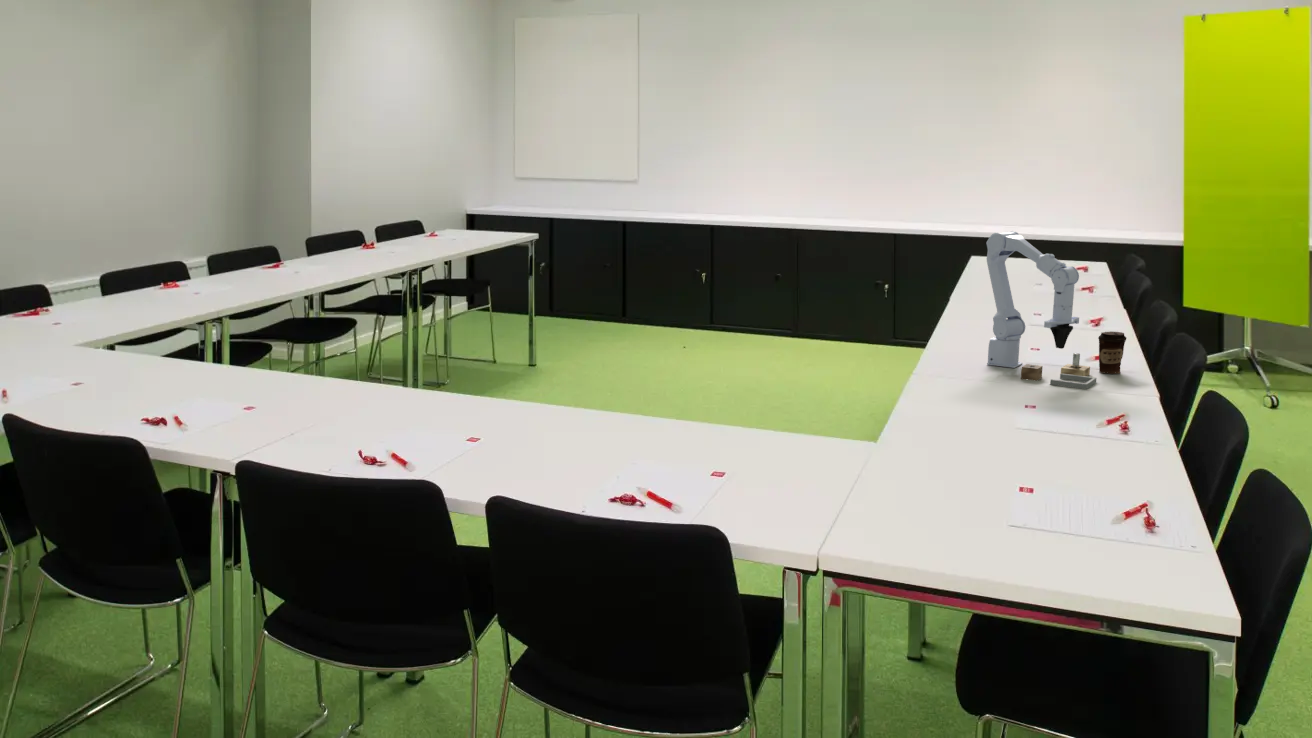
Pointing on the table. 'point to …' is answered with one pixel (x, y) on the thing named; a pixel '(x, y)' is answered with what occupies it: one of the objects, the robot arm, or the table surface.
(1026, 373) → the walnut block
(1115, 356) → the coffee cup
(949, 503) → the table surface
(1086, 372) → the oak block
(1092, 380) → the grey arch piece
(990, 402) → the table surface
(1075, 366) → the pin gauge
